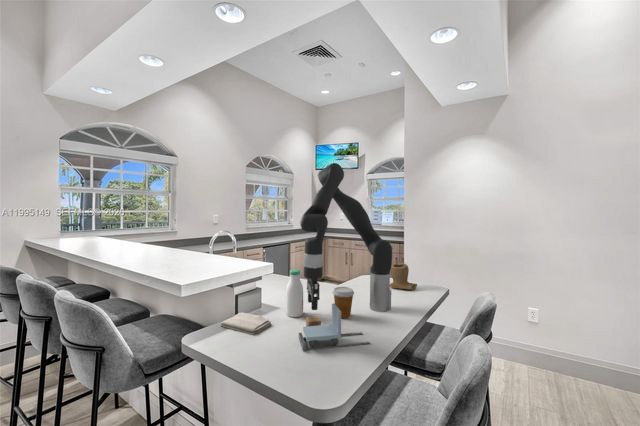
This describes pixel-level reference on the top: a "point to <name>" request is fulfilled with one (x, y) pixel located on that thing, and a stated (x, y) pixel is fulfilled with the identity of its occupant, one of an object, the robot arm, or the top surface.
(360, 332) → the rails
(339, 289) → the disposable coffee cup
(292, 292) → the milk bottle
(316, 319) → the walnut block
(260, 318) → the washcloth
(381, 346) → the top surface
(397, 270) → the tan boot
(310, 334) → the pale blue l-shaped block
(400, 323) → the top surface
